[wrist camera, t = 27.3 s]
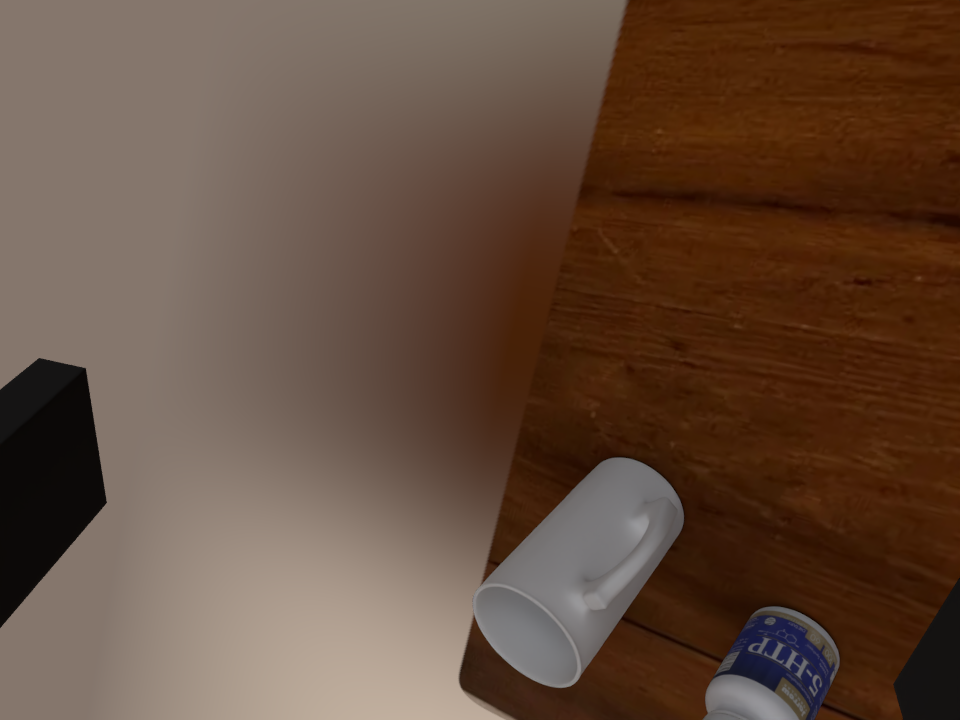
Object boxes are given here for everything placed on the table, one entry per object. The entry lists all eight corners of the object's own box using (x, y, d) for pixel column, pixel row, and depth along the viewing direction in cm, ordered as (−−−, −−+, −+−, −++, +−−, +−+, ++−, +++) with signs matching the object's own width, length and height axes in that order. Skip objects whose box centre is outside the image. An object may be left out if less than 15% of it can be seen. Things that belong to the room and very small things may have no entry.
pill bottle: (857, 643, 45) (797, 774, 39) (821, 690, 49) (761, 816, 43) (766, 587, 47) (697, 703, 42) (737, 635, 51) (671, 749, 45)
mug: (636, 555, 53) (529, 694, 45) (570, 472, 53) (452, 597, 45) (754, 513, 45) (649, 672, 37) (676, 416, 45) (555, 556, 38)
